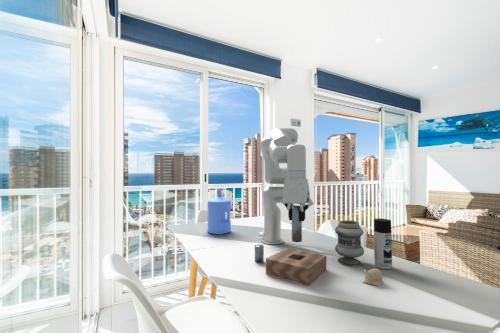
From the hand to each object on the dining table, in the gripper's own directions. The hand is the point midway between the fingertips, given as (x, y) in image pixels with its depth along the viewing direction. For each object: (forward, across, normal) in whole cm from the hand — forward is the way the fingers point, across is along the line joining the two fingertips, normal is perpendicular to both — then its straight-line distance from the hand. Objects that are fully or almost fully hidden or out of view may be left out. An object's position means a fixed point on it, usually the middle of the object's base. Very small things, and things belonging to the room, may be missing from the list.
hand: (296, 220), depth 103 cm
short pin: (+21, -19, +1) cm, 28 cm away
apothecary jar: (+21, +14, +24) cm, 35 cm away
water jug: (+20, -72, +31) cm, 81 cm away
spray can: (+21, +27, +27) cm, 44 cm away
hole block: (+21, 0, 0) cm, 21 cm away
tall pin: (+8, 0, 0) cm, 8 cm away
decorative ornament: (+21, +26, +8) cm, 35 cm away
